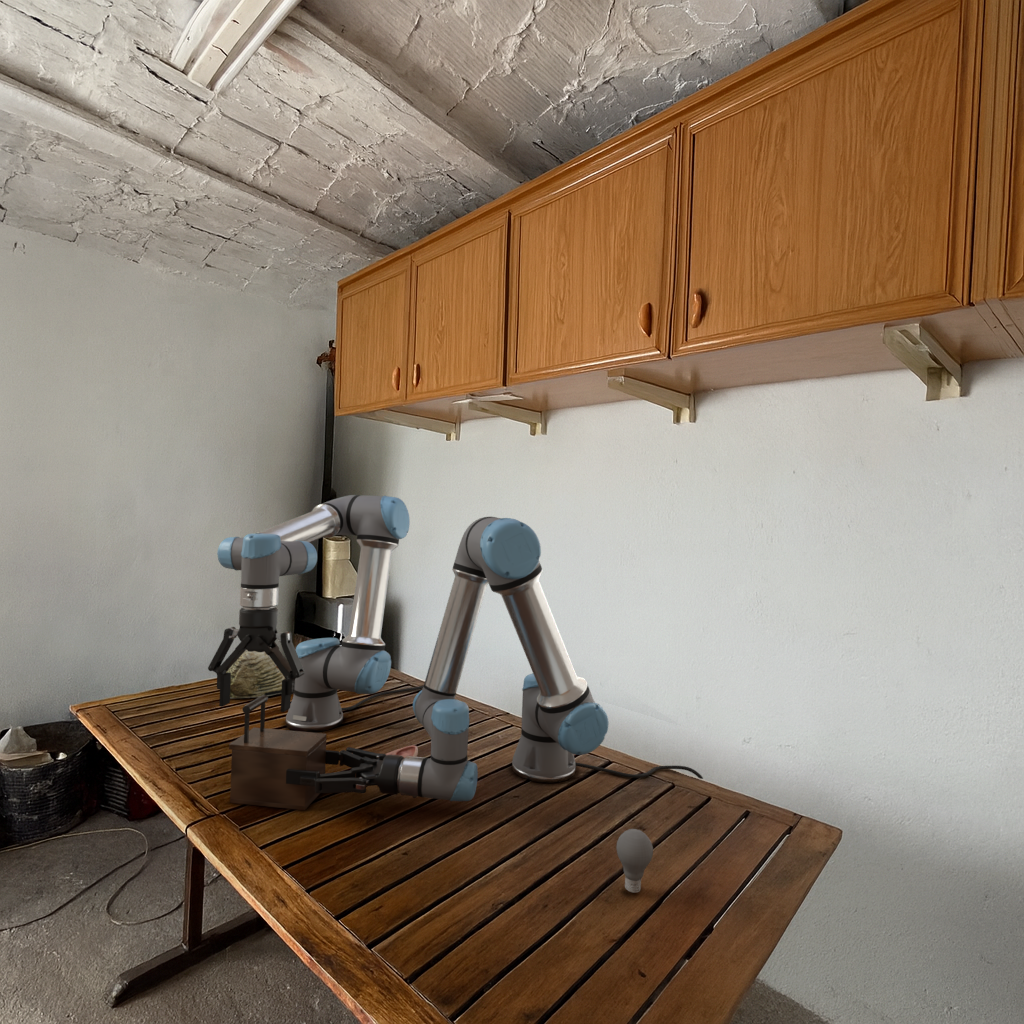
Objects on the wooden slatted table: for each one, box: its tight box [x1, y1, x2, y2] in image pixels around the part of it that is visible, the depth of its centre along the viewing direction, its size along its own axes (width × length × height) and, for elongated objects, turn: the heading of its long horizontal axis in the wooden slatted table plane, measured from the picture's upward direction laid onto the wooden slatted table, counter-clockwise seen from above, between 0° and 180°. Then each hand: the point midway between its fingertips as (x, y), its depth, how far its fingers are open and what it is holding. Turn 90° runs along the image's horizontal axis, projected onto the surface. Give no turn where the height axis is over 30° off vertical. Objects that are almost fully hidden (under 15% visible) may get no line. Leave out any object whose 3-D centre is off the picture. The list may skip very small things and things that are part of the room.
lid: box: [228, 695, 327, 756], centre depth 133 cm, size 17×10×9 cm, turn 83°
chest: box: [229, 738, 327, 811], centre depth 133 cm, size 16×10×11 cm, turn 83°
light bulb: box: [615, 828, 654, 894], centre depth 106 cm, size 6×6×10 cm
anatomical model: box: [385, 744, 419, 758], centre depth 149 cm, size 13×4×12 cm
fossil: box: [226, 650, 286, 699], centre depth 198 cm, size 9×18×15 cm, turn 132°
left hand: (254, 707), depth 134 cm, fingers open, 13 cm apart
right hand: (298, 765), depth 133 cm, fingers closed on chest, 10 cm apart
